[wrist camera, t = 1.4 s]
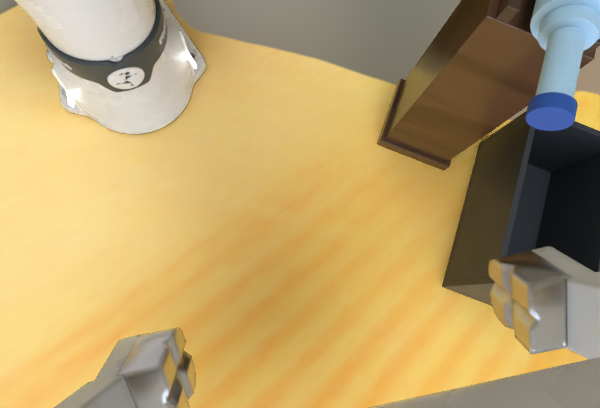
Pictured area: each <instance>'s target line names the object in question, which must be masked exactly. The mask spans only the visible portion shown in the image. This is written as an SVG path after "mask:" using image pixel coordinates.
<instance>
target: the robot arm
mask: <svg viewBox="0 0 600 408" xmlns="http://www.w3.org/2000/svg"><path fill="white" fill-rule="evenodd" d="M15 1H16V2H17V3H18V4H19V6H20V7H21V8H22V9H23V10H24V11H25V12H26V13H27V14H28V16H29V17H30V18H31V19H32V20H33V21H34V23H35V24H36V25H37V28H38V31H39V34H40V35H41V37H42V39H43V40H44V42H45V43H46V44H45V45H46V46H47V48H48V49H49V50H47V57H48V59H49V61H50V62H51V63H53V66H54V67H53V68H52V72H53V74H54V76H55V77H56V79H57V80H58V81H59V90H60V100H61V104H62V105H63V107H64V108H65V110H67V111H68V112H71V113H74V114H78V115H83V116H88V117H90V118H92V119H93V120H95V121H96V122H98V123H99V124H101V125H102V126H104V127H106V128H108V129H110V130H113V131H116V132H120V133H125V134H143V133H148V132H152V131H155V130H158V129H160V128H163V127H165V126H166V125H168V124H170V123H171V122H172V121H174V120H175V119H176V118H177V117H178V116H179V115H180V114H181V113H182V112H183V110H184V109H185V107H186V106H187V104H188V102H189V100H190V97H191V93H192V90H193V86H194V84H195V82H196V81H197V80H198V78H199V77H200V76H201V75H202V74H203V72H204V71H205V69H206V63H205V60H204V58H203V56H202V55H201V54H200V52H199V51H198V49H197V48H196V46H195V45H194V43H193V42H192V40H191V39H190V38H189V36H188V35H187V33H186V32H185V30H184V29H183V27H182V26H181V24H180V23H179V22H178V20H177V19H176V17H175V16H174V14H173V13H172V11H171V10H170V9H169V7H168V6H167V4H166V3H165V1H164V0H15ZM191 56H194V58H192V57H191ZM488 271H489V276H490V277H491V278H492V279H493V280H494V281H495V283H494V285H493V287H492V288H491V290H490V297H491V304H492V307H493V309H494V312H495V314H496V316H497V318H498V319H499V321H500V322H501V323H502V324H503V325H504V326H505V327H508V328H511V329H514V332H515V338H516V339H517V340H518V341H519V342H520V343H521V344H522V345H523V346H524V347H525V348H526V349H527V350H528V351H529V352H530V353H531V354H536V353H541V352H546V351H552V350H557V349H562V348H567V347H568V350H571V351H573V352H575V353H577V354H579V355H581V356H584V357H586V358H588V359H589V360H585V361H580V362H575V363H571V364H566V365H562V366H557V367H552V368H548V369H543V370H539V371H534V372H529V373H525V374H520V375H516V376H511V377H506V378H502V379H497V380H493V381H488V382H484V383H479V384H474V385H470V386H465V387H461V388H456V389H451V390H447V391H442V392H438V393H433V394H428V395H424V396H419V397H415V398H410V399H405V400H401V401H396V402H392V403H387V404H382V405H378V406H373V407H369V408H600V271H599V272H594V271H592V270H590V269H589V268H587V267H585V266H583V265H582V264H580V263H578V262H577V261H575V260H573V259H572V258H570V257H568V256H567V255H565V254H563V253H561V252H560V251H558V250H556V249H555V248H553V247H548V246H546V247H542V248H538V249H534V250H530V251H526V252H522V253H518V254H513V255H509V256H505V257H501V258H497V259H493V260H490V261H489V266H488ZM185 344H186V339H185V337H184V334H183V331H182V330H181V329H180V328H179V327H178V328H172V329H167V330H162V331H157V332H152V333H147V334H142V335H136V336H132V337H128V338H123V339H121V340H119V341H118V342H117V344H116V346H115V347H114V349H113V351H112V352H111V354H110V356H109V357H108V359H107V361H106V362H105V364H104V366H103V368H102V369H101V371H100V373H99V374H98V376H97V378H96V379H95V381H92V382H88V383H87V384H85V385H84V386H83V387H81V388H80V389H79V390H77V391H76V392H75V393H73V394H72V395H71V396H69V397H68V398H66V399H65V400H64V401H62V402H61V403H60V404H58V405H57V406H56V407H54V408H190V406H189V403H188V399H189V398H190V397H191V396H192V395H193V394H194V390H195V385H196V373H195V367H194V363H193V360H192V357H191V355H189V354H188V353H187V352H185V351H184V347H185Z"/></svg>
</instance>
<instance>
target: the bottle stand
mask: <svg viewBox="0 0 600 408" xmlns="http://www.w3.org/2000/svg"><path fill="white" fill-rule="evenodd" d="M535 2H536V0H461V2H460V3H459V5H458V6H457V8H456V9H455V11H454V12H453V13H452V15H451V16H450V17H449V19H448V20H447V22H446V23H445V24H444V26H443V27H442V29H441V30H440V32H439V33H438V34H437V36H436V37H435V39H434V40H433V42H432V43H431V44H430V46H429V47H428V49H427V50H426V51H425V53H424V54H423V56H422V57H421V59H420V60H419V62H418V63H417V64H416V66H415V67H414V69H413V70H412V71H411V73H410V74H409V76H408V77H407V79H406V80H403V79H401V80H400V81H399V82H398V84H397V87H396V90H395V93H394V96H393V99H392V101H391V104H390V107H389V110H388V113H387V116H386V119H385V122H384V125H383V128H382V131H381V134H380V137H379V140H378V143H377V144H378V145H381V146H383V147H386V148H388V149H391V150H393V151H396V152H399V153H401V154H404V155H406V156H409V157H411V158H414V159H416V160H419V161H422V162H424V163H427V164H429V165H432V166H434V167H437V168H440V169H442V170H445V169H447V168H448V167H449V166H450V162H451V159H452V158H453V157H455V156H456V155H458V154H459V153H461V152H462V151H463V150H465V149H466V148H468V147H469V146H471V145H472V144H473V143H475V142H476V141H478V140H479V139H481V138H482V137H483V136H485V135H486V134H488V133H489V132H491V131H492V130H493V129H495V128H496V127H498V126H499V125H501V124H502V123H503V122H505V121H506V120H508V119H509V118H511V117H512V116H513V115H515V114H516V113H518V112H519V111H521V110H522V109H523V108H525V107H526V106H528V104H529V101H530V100H531V99H532V98H533V97H535V96H536V91H537V87H538V83H539V78H540V74H541V70H542V65H543V61H544V57H545V53H546V51H545V50H544V49H543V48H541V46H540V45H539V43H538V40H537V39H536V38H535V37H534V36H533V35H532V32H531V29H530V23H531V18H532V14H533V10H534V6H535ZM598 46H600V39H598V40H597V41H596V42H595V43H594V44H593V45H592V46H591V47H590V48H588V49H586V50H584V51H583V54H582V59H581V64H580V69H581V68H582V67H583V66H585V65H586V64H588V63H589V62H590V61H592V60H593V59H594V56H595V51H596V48H597V47H598Z"/></svg>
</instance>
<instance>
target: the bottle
mask: <svg viewBox="0 0 600 408" xmlns="http://www.w3.org/2000/svg"><path fill="white" fill-rule="evenodd" d="M530 29H531V32H532V35H533V36H534V37H535V38H536V39H537V40H538V43H539V45H540V46H541V48H543V49H544V50H545V51H546V53H545V57H544V61H543V65H542V70H541V74H540V78H539V83H538V87H537V91H536V96H535V97H533V98H532V99H531V100H530V101H529V104H528V108H527V112H526V117H525V119H526V122H527V123H528V124H529V125H530V126H532V127H534V128H536V129H539V130H545V131H557V130H562V129H566V128H568V127H570V126H571V125H572V124H573V123H574V121H575V116H576V111H577V102H576V100H575V99H574V93H575V89H576V84H577V79H578V74H579V69H580V64H581V59H582V54H583V51H584V50H586V49H588V48H590V47H591V46H592V45H593V44H594V43H595V42H596V41H597V40H598V39H600V0H536V2H535V6H534V10H533V14H532V18H531V23H530Z"/></svg>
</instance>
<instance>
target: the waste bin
mask: <svg viewBox="0 0 600 408" xmlns="http://www.w3.org/2000/svg"><path fill="white" fill-rule="evenodd" d="M526 112H527V111H526ZM526 112H524V113H523V114H522V115H520V116H519V117H517V118H516V119H514V120H513V121H511V122H510V123H508V124H507V125H505V126H504V127H502V128H501V129H500V130H498V131H497V132H495V133H494V134H492V135H491V136H489V137H488V138H486V139H485V140H483V141H482V142H480V145H479V149H478V153H477V157H476V160H475V164H474V168H473V172H472V176H471V179H470V183H469V187H468V191H467V195H466V198H465V202H464V206H463V210H462V214H461V217H460V221H459V225H458V229H457V233H456V236H455V240H454V244H453V248H452V252H451V255H450V259H449V263H448V267H447V271H446V274H445V278H444V282H443V286H442V287H444V288H447V289H450V290H452V291H455V292H457V293H460V294H463V295H465V296H468V297H471V298H473V299H476V300H478V301H481V302H484V303H486V304H489V305H492V304H491V297H490V290H491V288H492V287H493V285H494V283H495V281H494V280H493V279H492V278H491V277H490V276H489V271H488V266H489V261H490V260H493V259H497V258H501V257H505V256H509V255H513V254H518V253H522V252H526V251H530V250H534V249H538V248H542V247H546V246H548V247H553V248H555V249H556V250H558V251H560V252H561V253H563V254H565V255H567V256H568V257H570V258H572V259H573V260H575V261H577V262H578V263H580V264H582V265H583V266H585V267H587V268H589V269H590V270H592V271H594V272H599V271H600V131H598V130H595V129H593V128H590V127H588V126H585V125H583V124H580V123H578V122H575V121H574V123H573V124H572V125H571V126H570V127H568V128H566V129H562V130H557V131H545V130H539V129H536V128H534V127H532V126H530V125H529V124H528V123H527V122H526V119H525V117H526Z"/></svg>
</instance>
